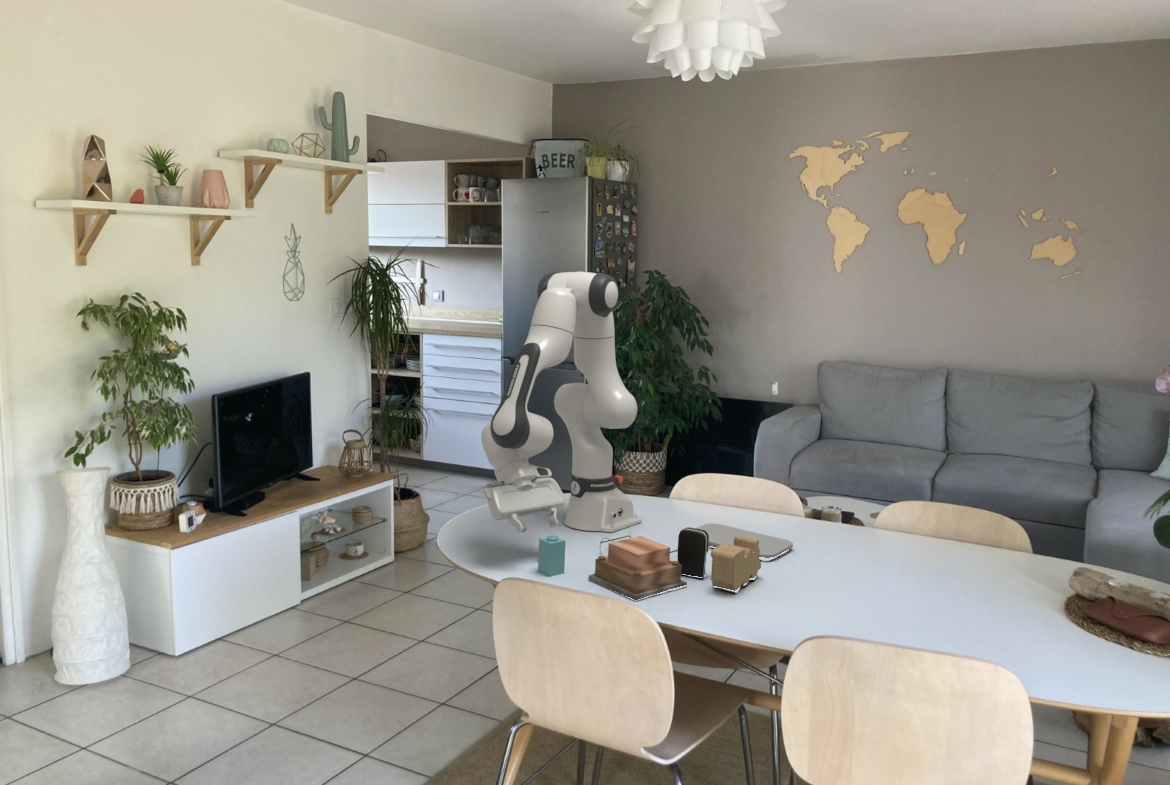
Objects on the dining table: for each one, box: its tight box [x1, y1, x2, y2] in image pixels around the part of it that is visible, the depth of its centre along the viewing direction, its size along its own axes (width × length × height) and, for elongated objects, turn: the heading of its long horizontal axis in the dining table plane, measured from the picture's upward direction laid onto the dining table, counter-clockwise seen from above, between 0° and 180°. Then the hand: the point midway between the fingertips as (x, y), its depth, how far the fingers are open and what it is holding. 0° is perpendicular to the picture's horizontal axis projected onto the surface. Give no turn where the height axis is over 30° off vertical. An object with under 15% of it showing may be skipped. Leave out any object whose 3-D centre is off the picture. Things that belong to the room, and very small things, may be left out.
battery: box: [677, 526, 709, 578], centre depth 223 cm, size 7×4×11 cm, turn 64°
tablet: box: [695, 522, 794, 558], centre depth 249 cm, size 16×26×2 cm, turn 53°
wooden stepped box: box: [588, 535, 688, 600], centre depth 216 cm, size 16×16×9 cm
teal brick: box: [537, 535, 566, 578], centre depth 221 cm, size 4×4×9 cm
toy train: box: [710, 535, 762, 591], centre depth 218 cm, size 6×17×10 cm, turn 147°
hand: (539, 528), depth 224 cm, fingers open, 8 cm apart
